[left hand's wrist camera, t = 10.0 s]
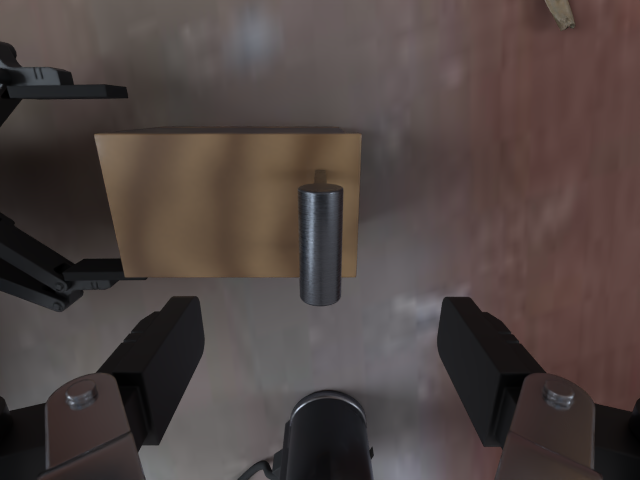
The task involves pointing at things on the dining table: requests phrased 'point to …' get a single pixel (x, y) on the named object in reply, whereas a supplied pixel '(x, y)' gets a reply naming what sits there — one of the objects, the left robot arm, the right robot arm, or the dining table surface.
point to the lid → (236, 205)
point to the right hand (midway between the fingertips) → (137, 187)
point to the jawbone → (561, 13)
